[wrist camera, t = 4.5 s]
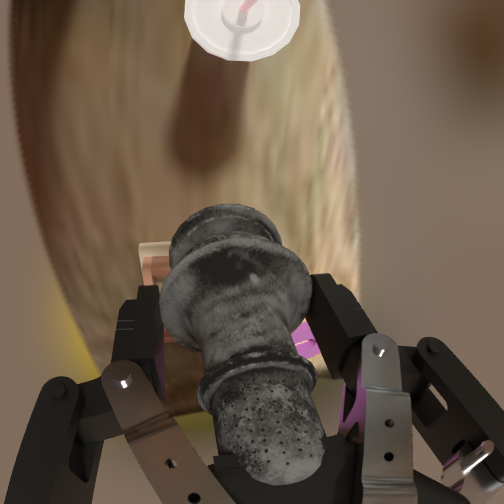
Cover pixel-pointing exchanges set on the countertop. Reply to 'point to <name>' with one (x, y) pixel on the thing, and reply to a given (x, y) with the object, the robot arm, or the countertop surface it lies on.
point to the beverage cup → (242, 26)
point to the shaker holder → (155, 268)
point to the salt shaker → (246, 338)
